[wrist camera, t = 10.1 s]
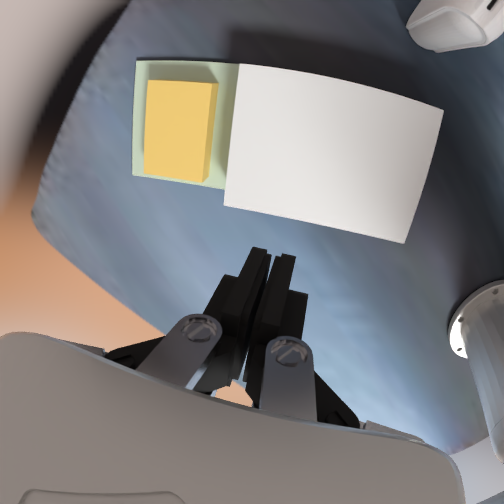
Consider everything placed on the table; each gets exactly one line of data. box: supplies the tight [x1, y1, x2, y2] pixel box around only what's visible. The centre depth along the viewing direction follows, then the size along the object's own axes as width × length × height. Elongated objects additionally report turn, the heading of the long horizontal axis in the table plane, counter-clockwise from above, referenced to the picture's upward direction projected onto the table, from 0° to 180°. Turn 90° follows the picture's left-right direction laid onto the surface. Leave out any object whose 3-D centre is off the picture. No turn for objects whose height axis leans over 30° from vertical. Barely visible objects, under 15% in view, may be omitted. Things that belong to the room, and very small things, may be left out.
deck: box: [224, 64, 444, 244], centre depth 25 cm, size 16×12×4 cm
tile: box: [144, 79, 219, 183], centre depth 27 cm, size 6×9×2 cm, turn 173°
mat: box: [132, 61, 240, 190], centre depth 28 cm, size 11×12×1 cm
